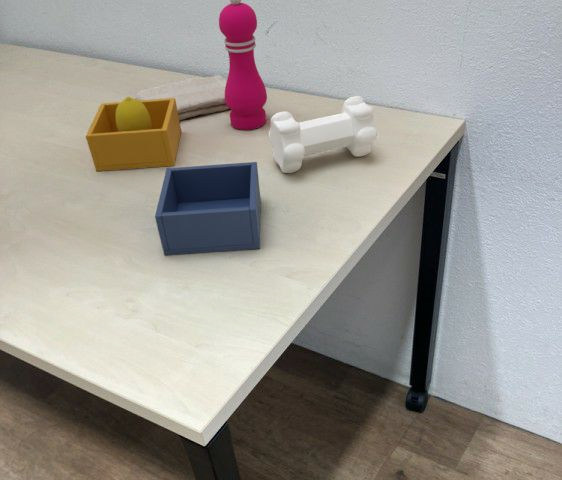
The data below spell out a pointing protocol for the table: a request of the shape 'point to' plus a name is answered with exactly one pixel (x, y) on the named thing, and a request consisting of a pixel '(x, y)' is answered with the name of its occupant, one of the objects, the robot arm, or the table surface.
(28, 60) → the table surface
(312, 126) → the white bone
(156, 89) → the washcloth
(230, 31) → the pepper mill
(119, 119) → the lemon
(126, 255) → the table surface
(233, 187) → the blue bin
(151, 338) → the table surface
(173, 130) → the ochre bin
